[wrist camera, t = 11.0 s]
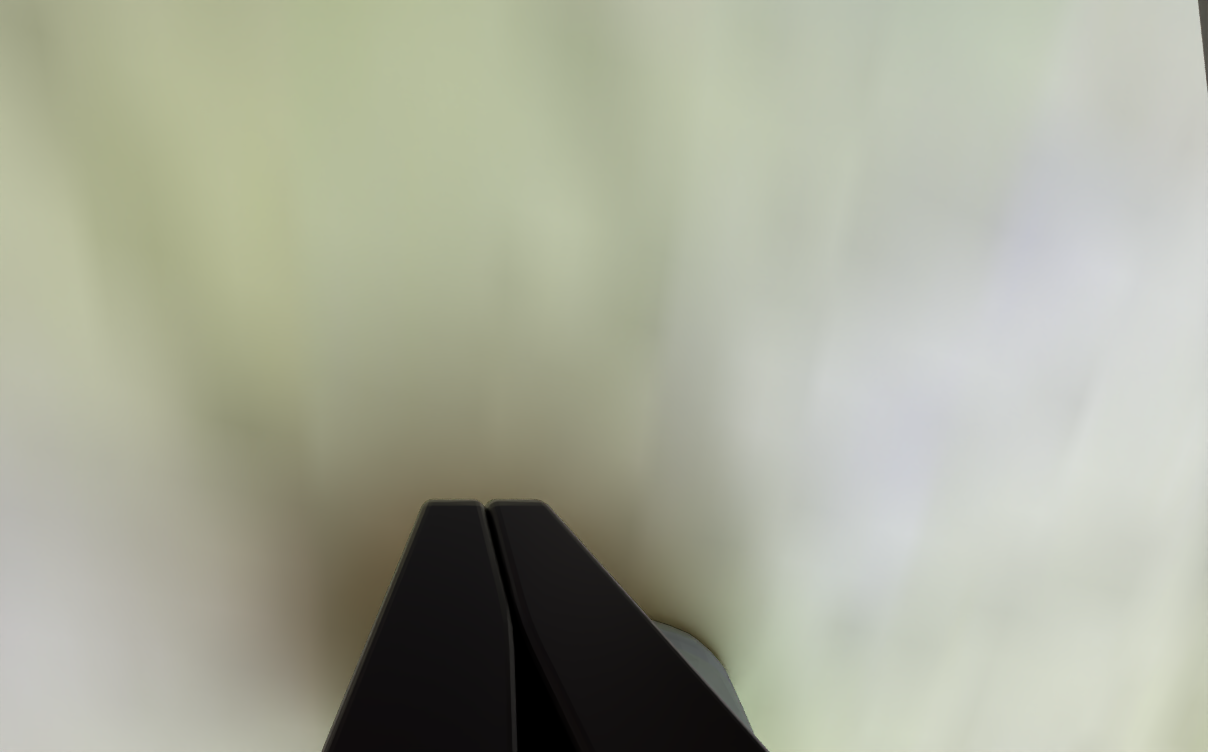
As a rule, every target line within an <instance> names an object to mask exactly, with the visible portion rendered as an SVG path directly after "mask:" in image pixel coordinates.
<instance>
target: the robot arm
mask: <svg viewBox="0 0 1208 752" xmlns="http://www.w3.org/2000/svg"><path fill="white" fill-rule="evenodd" d="M1198 5H1199V15H1200V24H1201V34H1202V43H1203V52H1204V62H1205V71H1206V81H1207V90H1208V0H1198ZM322 752H769V751H768V750H767V749H766V747H765V746H764V745H763V744H762V743H761V742H760V741H759V740H758V738H757V737H756V736H755V735H754V734H753V733H752V732H751V731H750V730H749V728H748V727H747V726H746V725H745V724H744V723H743V722H742V721H741V720H740V718H739V717H738V716H737V715H736V714H735V713H734V712H733V711H732V709H731V708H730V707H729V706H728V705H727V704H726V703H725V702H724V701H723V699H722V698H721V697H720V696H719V695H718V694H717V693H716V692H715V691H714V689H713V688H712V687H711V686H710V685H709V684H708V683H707V682H706V680H705V679H704V678H703V677H702V676H701V675H700V674H699V673H698V672H697V670H696V669H695V668H694V667H693V666H692V665H691V664H690V663H689V662H688V660H687V659H686V658H685V657H684V656H683V655H682V654H681V653H680V651H679V650H678V649H677V648H676V647H675V646H674V645H673V644H672V643H671V641H670V640H669V639H668V638H667V637H666V636H665V635H664V634H663V633H662V631H661V630H660V629H659V628H658V627H657V626H656V625H655V624H654V622H653V621H652V620H651V619H650V618H649V617H648V616H647V615H646V614H645V612H644V611H643V610H642V609H641V608H640V607H639V606H638V605H637V604H636V602H635V601H634V600H633V599H632V598H631V597H630V596H629V595H628V593H627V592H626V591H625V590H624V589H623V588H622V587H621V586H620V585H619V583H618V582H617V581H616V580H615V579H614V578H613V577H612V576H611V575H610V573H609V572H608V571H607V570H606V569H605V568H604V567H603V566H602V564H601V563H600V562H599V561H598V560H597V559H596V558H595V557H594V556H593V554H592V553H591V552H590V551H589V550H588V549H587V548H586V547H585V546H584V544H583V543H582V542H581V541H580V540H579V539H578V538H577V537H576V535H575V534H574V533H573V532H572V531H571V530H570V529H569V528H568V527H567V525H566V524H565V523H564V522H563V521H562V520H561V519H560V518H559V517H558V515H557V514H556V513H555V512H554V511H553V510H552V509H551V508H550V507H549V506H548V505H547V504H546V503H544V502H542V501H540V500H535V499H494V500H491V501H490V502H488V503H487V504H486V505H485V507H484V506H483V504H482V503H481V502H479V501H478V500H475V499H431V500H428V501H426V502H425V503H424V504H423V505H422V507H421V509H420V511H419V514H418V516H417V519H416V521H415V524H414V526H413V529H412V531H411V533H410V536H409V538H408V541H407V543H406V546H405V548H404V551H403V553H402V556H401V558H400V560H399V563H398V565H397V568H396V570H395V573H394V575H393V578H392V580H391V582H390V585H389V587H388V590H387V592H386V595H385V597H384V600H383V602H382V605H381V607H380V609H379V612H378V614H377V617H376V619H375V622H374V624H373V627H372V629H371V632H370V634H369V636H368V639H367V641H366V644H365V646H364V649H363V651H362V654H361V656H360V658H359V661H358V663H357V666H356V668H355V671H354V673H353V676H352V678H351V681H350V683H349V685H348V688H347V690H346V693H345V695H344V698H343V700H342V703H341V705H340V707H339V710H338V712H337V715H336V717H335V720H334V722H333V725H332V727H331V730H330V732H329V734H328V737H327V739H326V742H325V744H324V747H323V749H322Z"/></svg>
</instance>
